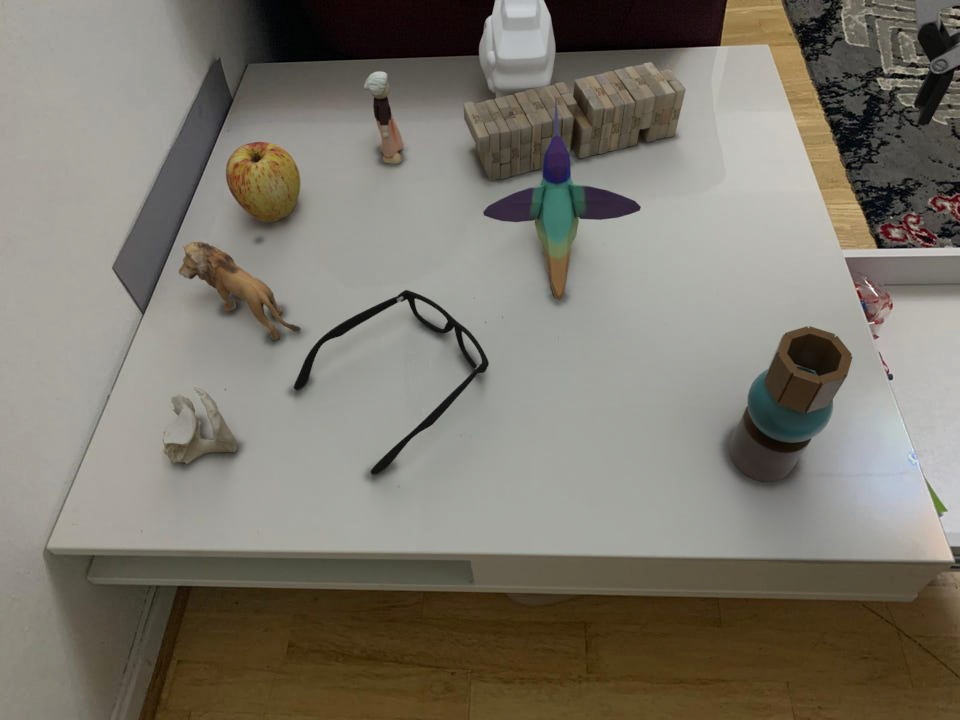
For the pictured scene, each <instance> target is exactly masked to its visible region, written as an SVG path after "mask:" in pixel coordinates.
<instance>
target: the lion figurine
mask: <svg viewBox="0 0 960 720" xmlns="http://www.w3.org/2000/svg"><path fill="white" fill-rule="evenodd" d="M182 248H183V250H184V254H185V256H184V257H183V259H182V261H183V263H182V265H181V267H180V268H179V269H178V274H179V275H180V276H182V277H184V278H186V279H188V280H193V279H194V278H196V277H198V279H199V280H201V281H205V282H206V283H207V285H208V286H210V287H212V288H214V289H215V290H216V292H217V293H218V295H219V297H220V298H221V299H222V300H223V301H224V302H225V303H224V306H223V309H224V311H225V312H231V311H233V310H235V309H236V307H237V305H236V301H235V300H234V299H233V298H232V297H231V295H233V296H235V297H236V298H238V299H240V300H243V301H245V303H246V305H247V307H248V309H249V310H250V311H251V313H252V315H253V316H254V317H255V318H256V320H257V321H258V322H259V323H260V324H262V325H263V326H264V327H265V328H266V329H268V331H269V332H270V334H269V338H270V340H272V341H277V340H279V338H280V337H281V332H280V331H279V329H278V328H277V327H276V325H274V324H273V323H272V322H271V321H270V320H269V318H268V317H267V315H266V313H265V308H264V306H266V308H267V309H268V311H269V312H270V314H271V315H272V317H273V318H274V319H275V320H276V321H277V322H278V323H279V324H280V325H282V326H283V327H284V328H287V329H289V330H290V331H292V332H296V333H297V332H298V333H299V332H300V331H302V328H301V327H299V326H297V325H295V324H293V323H292V324H291V323H289V322H286V321H285V320H283V318H282V317H281V316H280V315H281V314H282V312H283V309H282V308H281V306H279V305H278V304H277V301H276V299H275V295H274V292H273V291H272V290H271V288H270V287H269V286H268V285H267V284H266V283H265V282H264V281H262V280H261V279H259V278H257V277H254V276H253V275H251V274H250V273H249V272H248V271H246V270H245V269H243V268H241V267H240V266H238V264H236V262H235V260H234V258H233V257H232V256H231V255H230V254H228V253H227V252H225V251H223V250H221V249H219V248H218V247H216V246H214V245H210V243H208V242H203V241H195V242H194V241H191V242H190V243H188V244H185V245H182Z"/></svg>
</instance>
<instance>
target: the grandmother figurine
mask: <svg viewBox="0 0 960 720" xmlns="http://www.w3.org/2000/svg"><path fill="white" fill-rule="evenodd" d="M388 77H389V76H388V74H387V73H386V72H385V71H374V72H372V73H370V74H369V76H368V77H367V78H366V80H365V82H364V85H363V88H364V90H366V91H369V93H370V94H371V95H372V96H373V104H372V105H373V106H372V108H373V115H374V119H375V122H376V126H377V129H378V131H379V133H380V138H381V147H380V153H382V154H383V158H382V162H383V163H384V164H392V165H397V164H400V163H402V161H403V156H402V155H401V153H399V151H400V150H402V149H403V147H404V142H403V138H402V134H401V132H400V129H399V127H398V125H397V122H396V119H395V117H394V115H393V114H392V111H391V109H392V108H391V106H390V102H389V97H388V96H389V95H390V92H391V91H390V90H391V88H390V84H389V83H388Z"/></svg>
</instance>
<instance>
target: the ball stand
mask: <svg viewBox="0 0 960 720" xmlns="http://www.w3.org/2000/svg"><path fill="white" fill-rule="evenodd" d="M795 365H796V364H795ZM796 367H797V368H798V369H800V370H803V371H806V372H809V373H812V374H815V375H817V374H816V372H815V371H814V370H811V369H808V368H805V367H802V366H799V365H796ZM767 371H768V368H767V369H765V370H763V371H762V372H761V373H760V374H758V376H757V377H756V378H755V379H754V380H753V381H752V384H751V386H750V387H749V390H748V392H747V393H748V394H747V400H746V407H745V409H744V411H743V413H742V415H741V417H740V419H739V422H738V424H737V426H736V427H735V430H734V432H733V435H732V436H731V439H730V440H729V444H728V445H729V446H728V449H729V450H728V452H729V456H730V459H731V461H732V464H734V466H735V468H737V469H738V471H740V472H741V473H742V474H744V475H745V476H746V477H748V478H750V479H753V480H755V481H758V482H766V483H771V482H776V481H779V480H782V479H785V478H786V477H787V476H788V475H789V474H790V473H791V472H792V470H793V469H794V467H795V466H796V464H797V462H798V461H799V460H800V459H801V456H802V455H803V453H804V452H805V450H806V449H807V447H808V446H809V445H810V443H811V441H812V440H813V438H815V437H816V436H817V435H819V434H821V433H822V432H823V431H824V429H825V428H826V427H827V426H828V424H829V423H830V421H831V418H832V415H833V412H834V399H833V400H832V402H831V403H830V405H828V406H827V407H824V408H821V409H818V410H815V411H812V412H809V413H806V412H805V411H804V413H801V412H799V411H796V410H793V409H790V408H787V407H784V406H782V405H779V402H778V403H777V402H776V401H775V400H774V398H773V397H772V395H771V394H770V392H769V391H768V389H767V388H766V386H765V385H764V383H765V382H764V379H765V377H766V374H767Z"/></svg>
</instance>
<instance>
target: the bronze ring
mask: <svg viewBox="0 0 960 720" xmlns="http://www.w3.org/2000/svg"><path fill="white" fill-rule="evenodd" d="M852 360H853V356H852V352H851V351H850V350H849V349H848V347H847V346H846V345H845V344H844V342H843V341H842V340H841V338H840V337H839V336H838V335H836V333H833V332H831V331H827V330H823V329H820V328H817V327H814V326H809V327H808V326H803V327H799V328H796V329H793V330H790V331H786V332H784V334H783V335H782V336H781V338H780V341H779V342H778V345H777V348H776V350H775V352H774V354H773V356H772V359H771V361H770V364H769V366H768V368H767V369H768V371H767V374H766V377H765V379H764V382H765V383H764V385H765V386H766V388H767V389H768V391H769V392H770V394H771V395H772V397H773V398H774V400H775V401H776V402H777V403H778V402H779V405H782V406H784V407H787V408H790V409H793V410H796V411H799V412H801V413H804V411H805V412H806V413H809V412H812V411H815V410H818V409H821V408H824V407H827V406H828V405H830V403H831V402H832V400H833V401H834V399H835V397H836V395H837V394H838V391H840V388H841V387H842V385H843V383H844V382H845V380H846V379H847V377H848V374H849V372H850V368H851V364H852ZM795 364H796V365H799V366H802V367H805V368H808V369H811V370H814V371H815V372H816V374H817V375H815V374H812V373H809V372H806V371H803V370H800V369H798V368H797V367H796V365H795Z"/></svg>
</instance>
